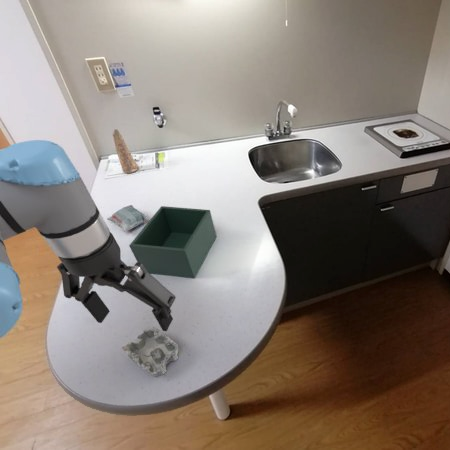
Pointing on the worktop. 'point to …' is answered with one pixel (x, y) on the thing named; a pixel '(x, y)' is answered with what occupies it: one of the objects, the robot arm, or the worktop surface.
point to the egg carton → (152, 351)
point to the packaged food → (128, 218)
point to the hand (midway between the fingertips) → (135, 320)
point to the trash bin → (175, 241)
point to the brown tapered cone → (124, 154)
